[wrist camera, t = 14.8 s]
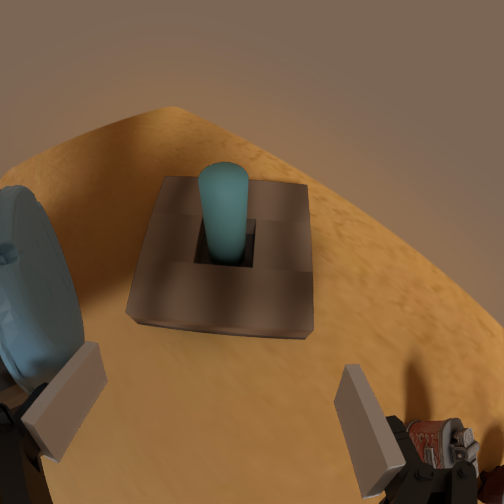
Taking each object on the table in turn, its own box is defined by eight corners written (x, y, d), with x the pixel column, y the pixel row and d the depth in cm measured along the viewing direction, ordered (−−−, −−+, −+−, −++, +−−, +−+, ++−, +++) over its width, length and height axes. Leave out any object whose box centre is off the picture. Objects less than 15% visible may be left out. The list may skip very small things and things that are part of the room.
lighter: (398, 427, 23) (455, 427, 15) (421, 415, 24) (479, 408, 15) (410, 482, 20) (464, 496, 11) (432, 468, 20) (488, 475, 11)
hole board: (138, 323, 29) (125, 312, 25) (170, 196, 38) (164, 176, 34) (304, 339, 29) (313, 329, 25) (301, 205, 38) (307, 184, 34)
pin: (207, 269, 31) (193, 195, 21) (212, 238, 33) (202, 161, 23) (243, 271, 31) (246, 198, 21) (246, 241, 33) (250, 163, 23)
